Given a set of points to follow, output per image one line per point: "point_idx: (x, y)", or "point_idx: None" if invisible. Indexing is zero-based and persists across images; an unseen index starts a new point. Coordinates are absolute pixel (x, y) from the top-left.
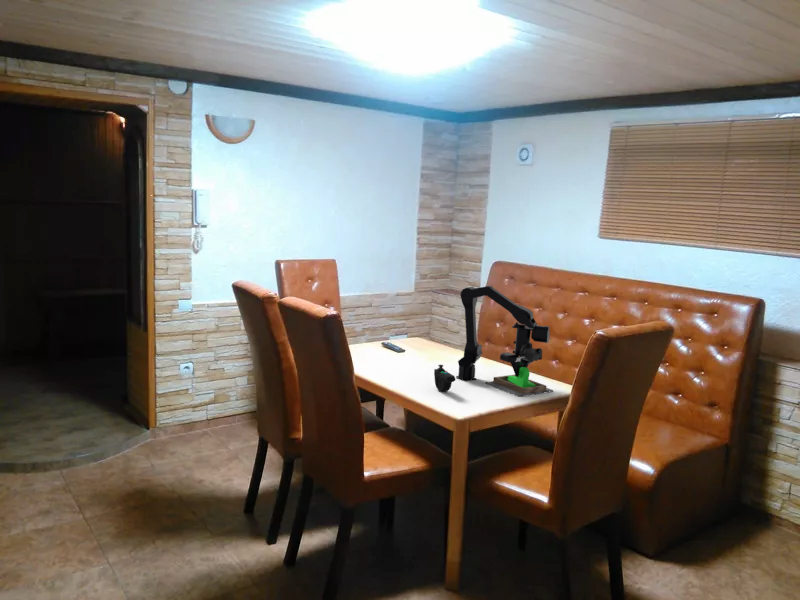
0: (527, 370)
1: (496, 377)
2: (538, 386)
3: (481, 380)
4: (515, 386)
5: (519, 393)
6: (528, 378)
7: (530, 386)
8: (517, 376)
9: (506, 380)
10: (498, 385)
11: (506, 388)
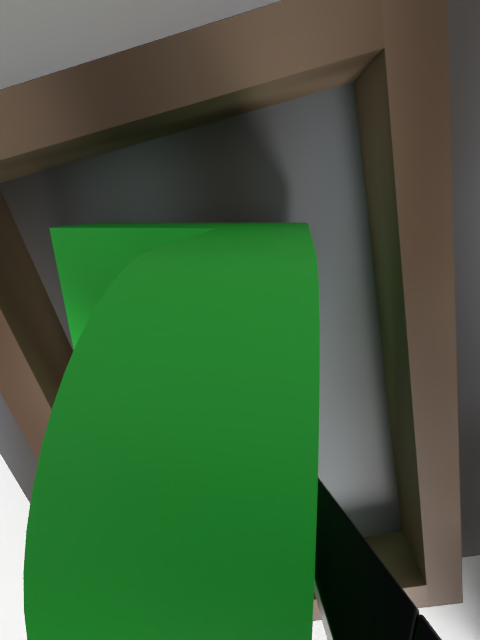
0: (146, 414)
1: (437, 591)
2: (36, 108)
3: (473, 605)
4: (445, 226)
5: (457, 46)
6: (183, 240)
7: (158, 225)
8: None
9: None
10: (474, 441)
11: (468, 324)
